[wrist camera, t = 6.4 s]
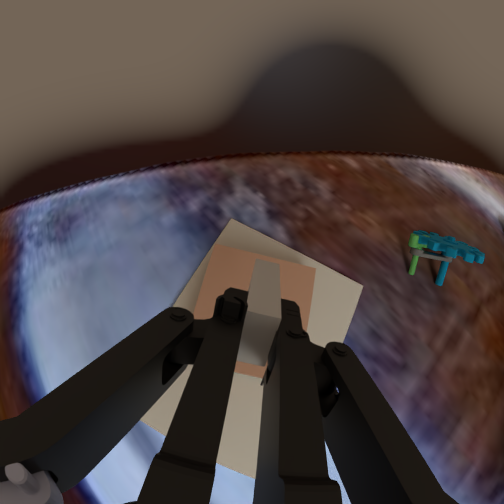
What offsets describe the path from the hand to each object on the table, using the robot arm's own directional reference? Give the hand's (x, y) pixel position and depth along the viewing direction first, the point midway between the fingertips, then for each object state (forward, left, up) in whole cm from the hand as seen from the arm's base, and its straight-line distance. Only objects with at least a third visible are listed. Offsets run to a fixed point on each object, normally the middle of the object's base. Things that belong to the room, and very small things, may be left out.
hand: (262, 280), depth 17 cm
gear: (-17, -16, -8) cm, 24 cm away
